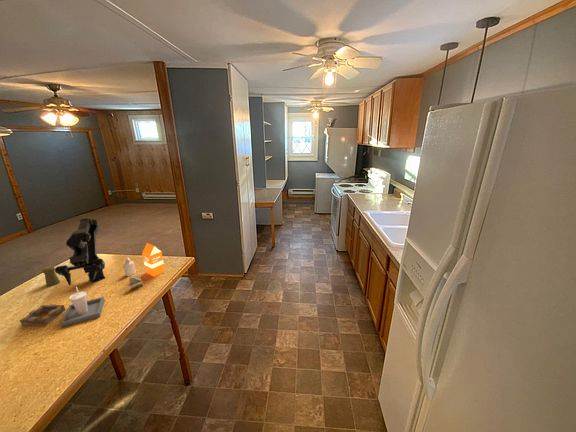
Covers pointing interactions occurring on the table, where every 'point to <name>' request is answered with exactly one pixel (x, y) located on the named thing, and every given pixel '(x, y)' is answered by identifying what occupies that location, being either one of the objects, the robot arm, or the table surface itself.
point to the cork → (50, 276)
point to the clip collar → (52, 309)
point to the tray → (93, 312)
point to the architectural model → (135, 281)
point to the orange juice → (153, 260)
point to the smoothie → (79, 301)
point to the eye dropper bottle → (129, 267)
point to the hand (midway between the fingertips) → (81, 282)
